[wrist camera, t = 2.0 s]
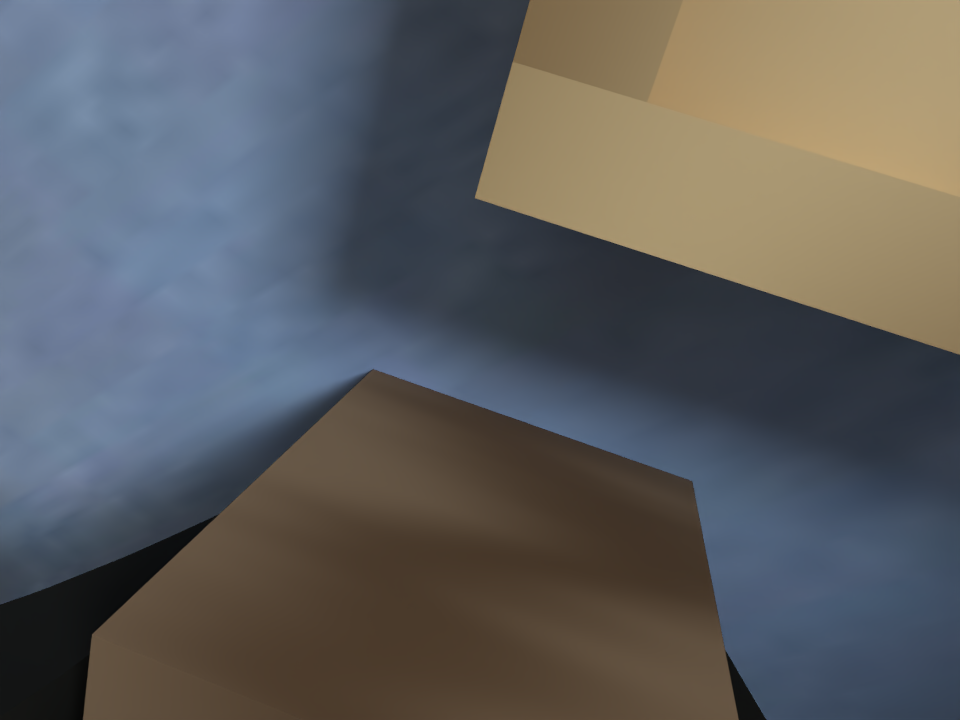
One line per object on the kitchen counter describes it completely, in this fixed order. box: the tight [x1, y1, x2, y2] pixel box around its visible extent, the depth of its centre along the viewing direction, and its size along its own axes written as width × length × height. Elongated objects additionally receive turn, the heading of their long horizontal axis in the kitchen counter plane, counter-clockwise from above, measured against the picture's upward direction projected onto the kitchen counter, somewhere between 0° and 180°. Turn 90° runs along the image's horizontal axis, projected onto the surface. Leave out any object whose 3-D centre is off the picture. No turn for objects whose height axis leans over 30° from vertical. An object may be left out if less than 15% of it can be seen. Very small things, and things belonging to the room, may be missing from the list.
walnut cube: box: [83, 369, 739, 720], centre depth 8 cm, size 5×5×6 cm
